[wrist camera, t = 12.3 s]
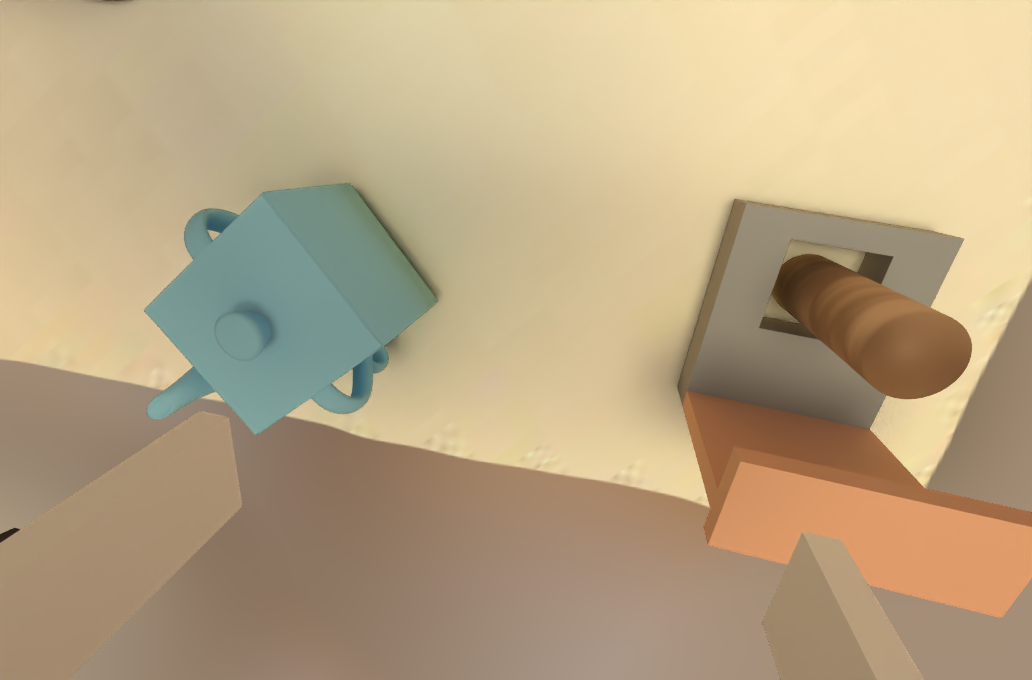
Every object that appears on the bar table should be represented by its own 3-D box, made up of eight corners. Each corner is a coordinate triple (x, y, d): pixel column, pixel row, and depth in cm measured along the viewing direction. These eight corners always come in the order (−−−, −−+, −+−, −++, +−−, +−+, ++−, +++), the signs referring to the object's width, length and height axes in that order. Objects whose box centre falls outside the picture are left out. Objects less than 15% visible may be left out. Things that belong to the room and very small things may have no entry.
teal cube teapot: (338, 151, 35) (200, 149, 24) (465, 321, 38) (398, 396, 26) (199, 282, 42) (35, 333, 30) (317, 420, 45) (210, 516, 33)
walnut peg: (784, 249, 32) (887, 304, 20) (847, 260, 32) (991, 323, 20) (763, 305, 34) (848, 388, 22) (823, 317, 33) (943, 407, 21)
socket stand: (730, 198, 32) (828, 235, 17) (937, 231, 30) (1238, 303, 16) (671, 392, 37) (707, 544, 23) (843, 429, 36) (1001, 617, 21)
